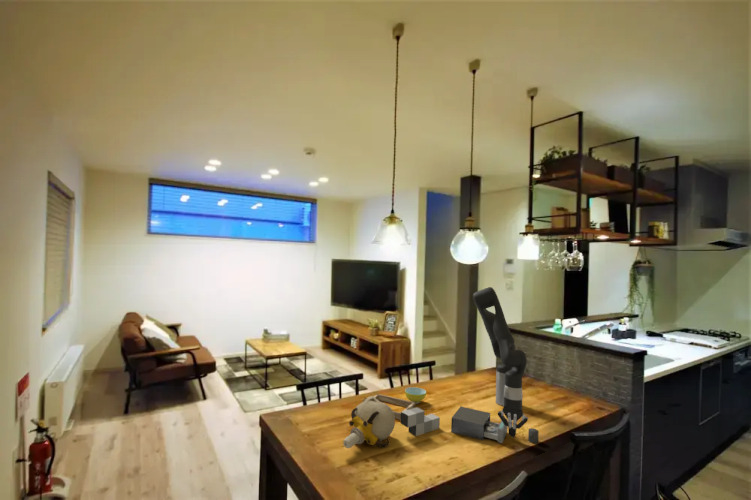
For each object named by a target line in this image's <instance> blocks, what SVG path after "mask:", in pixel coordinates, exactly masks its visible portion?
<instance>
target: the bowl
mask: <svg viewBox="0 0 751 500" xmlns="http://www.w3.org/2000/svg"><path fill="white" fill-rule="evenodd" d="M404 393H405V397H406V398H407V399H408V401H411V402H415V405H418V404H420V402H422V401H423V400H424V399H425V398H426V395H427V391H426V389H424V388H422V387H416V386H415V387H413V386H411V387H406V388H405V389H404Z"/></svg>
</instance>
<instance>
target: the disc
mask: <svg viewBox="0 0 751 500" xmlns="http://www.w3.org/2000/svg"><path fill="white" fill-rule="evenodd" d="M484 431H485V432H489V433H494V432H496V426H495V425H493V424H491V423H485V425H484Z"/></svg>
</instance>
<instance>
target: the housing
mask: <svg viewBox="0 0 751 500" xmlns="http://www.w3.org/2000/svg"><path fill="white" fill-rule="evenodd" d="M486 421H490V422H491V412H488V411H483V410H479V409H474V408H469V407H464V406H460V407H459V408H458V409H457V411H456V412H455V413H453V415H452V416H451V425H450V426H451V428H450V429H451V431H450V432H451V433H453V434H457V435H461V436H465V437H467V438H471V439H475V440H479V441H484V439H485V438H486V437H483V434H484V425H485V423H486Z"/></svg>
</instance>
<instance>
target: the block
mask: <svg viewBox="0 0 751 500" xmlns="http://www.w3.org/2000/svg"><path fill="white" fill-rule="evenodd" d="M425 411H426V410H423V409H422V408H421V407H418V406H417V407H416V406H415V408H413V409H409V410H406V411H404V410H402V411H401V412H400V413H401V420H400V424H401V425H403V426H404V427H406V428H408V433H410V434H411V435H412V436H415V437H417V436H420V435H423V434H427V433H429V432H432V431H435V430H438V429H440V421H441V419H440V418H441V417H439V416H438V415H436V414H434V413H429V414H427V415H425Z"/></svg>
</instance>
